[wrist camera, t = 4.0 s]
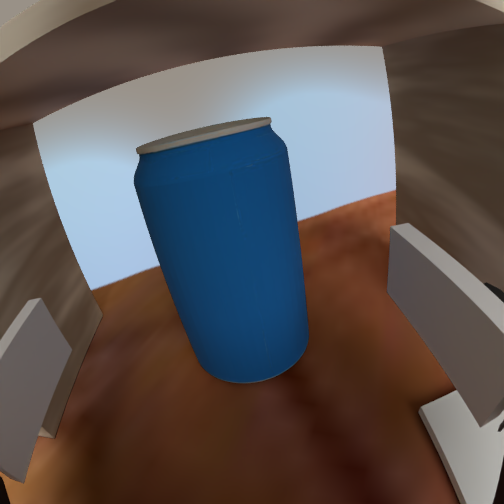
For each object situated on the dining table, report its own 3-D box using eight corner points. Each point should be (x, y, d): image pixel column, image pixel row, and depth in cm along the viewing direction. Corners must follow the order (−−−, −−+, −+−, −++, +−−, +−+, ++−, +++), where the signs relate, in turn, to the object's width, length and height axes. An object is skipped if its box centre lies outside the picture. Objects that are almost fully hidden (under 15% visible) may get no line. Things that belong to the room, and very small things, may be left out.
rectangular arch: (409, 254, 22) (397, 32, 14) (501, 352, 12) (534, 6, 4) (88, 316, 22) (15, 116, 14) (38, 435, 12) (-115, 154, 4)
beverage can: (311, 310, 19) (287, 112, 13) (306, 393, 13) (270, 123, 8) (216, 312, 21) (167, 135, 15) (184, 386, 15) (93, 164, 10)
